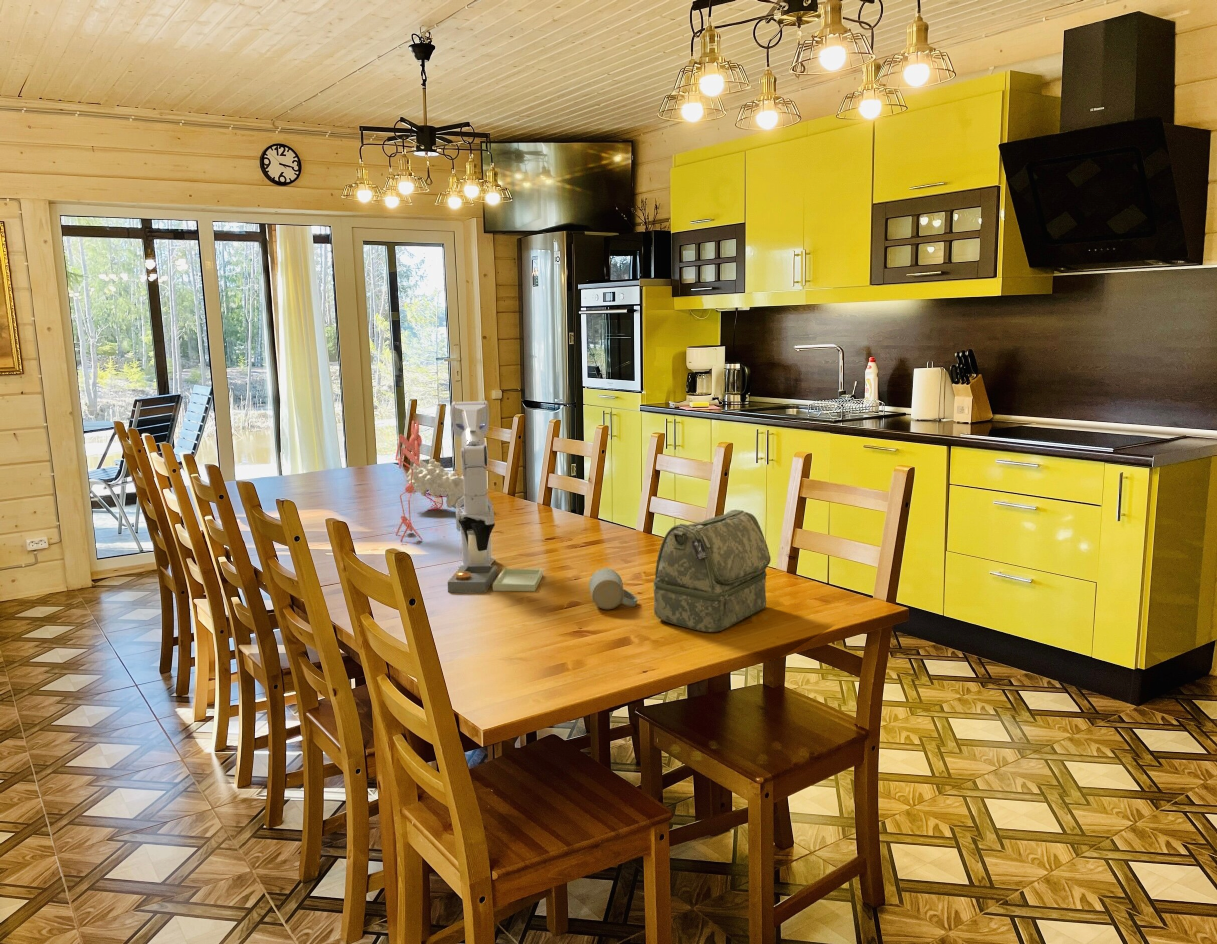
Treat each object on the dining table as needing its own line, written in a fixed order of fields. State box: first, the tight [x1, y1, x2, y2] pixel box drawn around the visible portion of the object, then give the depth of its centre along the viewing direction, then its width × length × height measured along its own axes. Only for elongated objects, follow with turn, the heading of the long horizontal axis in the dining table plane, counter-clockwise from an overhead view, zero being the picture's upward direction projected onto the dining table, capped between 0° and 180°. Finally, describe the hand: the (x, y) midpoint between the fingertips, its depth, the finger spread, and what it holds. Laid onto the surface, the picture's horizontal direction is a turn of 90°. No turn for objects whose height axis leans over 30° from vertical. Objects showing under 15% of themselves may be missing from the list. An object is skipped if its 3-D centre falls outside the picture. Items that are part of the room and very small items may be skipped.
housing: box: [447, 565, 498, 593], centre depth 220 cm, size 15×9×2 cm, turn 176°
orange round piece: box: [455, 571, 471, 580], centre depth 216 cm, size 4×4×4 cm
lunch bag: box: [653, 509, 772, 633], centre depth 192 cm, size 26×18×22 cm
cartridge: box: [467, 529, 487, 564], centre depth 222 cm, size 5×5×8 cm
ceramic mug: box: [588, 568, 639, 610], centre depth 201 cm, size 11×8×8 cm
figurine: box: [394, 420, 446, 546], centre depth 269 cm, size 15×26×35 cm, turn 22°
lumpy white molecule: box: [406, 458, 464, 512], centre depth 310 cm, size 20×18×25 cm
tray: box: [492, 568, 544, 592], centre depth 220 cm, size 14×10×2 cm
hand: (477, 548), depth 222 cm, fingers closed on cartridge, 5 cm apart
